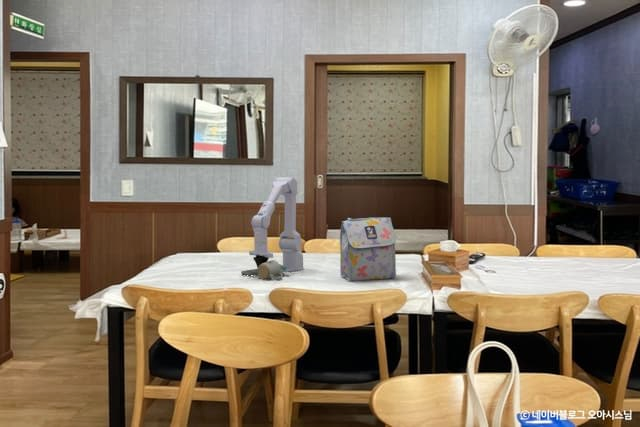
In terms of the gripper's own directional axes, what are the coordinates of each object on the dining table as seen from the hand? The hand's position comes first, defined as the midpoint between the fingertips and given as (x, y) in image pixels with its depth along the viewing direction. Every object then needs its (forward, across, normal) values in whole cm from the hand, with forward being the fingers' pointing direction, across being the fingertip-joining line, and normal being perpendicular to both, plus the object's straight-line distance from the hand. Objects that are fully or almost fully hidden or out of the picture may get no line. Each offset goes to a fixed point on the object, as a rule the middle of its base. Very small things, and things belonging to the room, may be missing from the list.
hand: (261, 272), depth 313 cm
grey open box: (+2, -8, +6) cm, 10 cm away
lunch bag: (+2, +36, +31) cm, 47 cm away
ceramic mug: (+2, +7, 0) cm, 7 cm away
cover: (0, -2, +11) cm, 12 cm away
